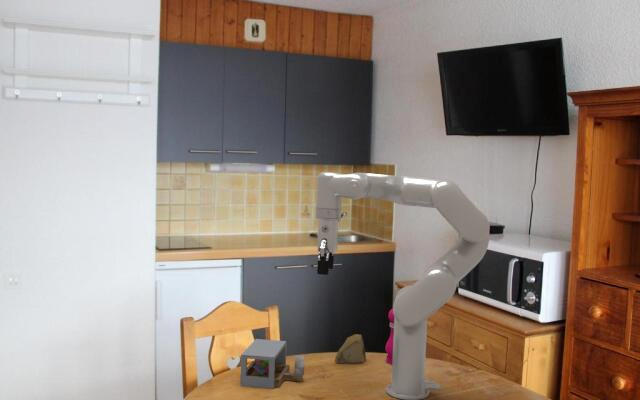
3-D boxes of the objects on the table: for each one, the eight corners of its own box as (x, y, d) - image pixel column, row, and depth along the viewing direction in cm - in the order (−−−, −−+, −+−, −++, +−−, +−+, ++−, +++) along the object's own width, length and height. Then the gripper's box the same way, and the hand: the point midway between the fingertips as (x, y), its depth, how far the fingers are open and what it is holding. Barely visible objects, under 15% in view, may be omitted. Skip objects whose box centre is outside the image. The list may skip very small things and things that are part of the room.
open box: (285, 370, 216) (286, 341, 215) (273, 388, 199) (274, 357, 199) (255, 367, 218) (255, 338, 217) (240, 385, 201) (241, 354, 200)
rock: (331, 359, 222) (361, 357, 219) (332, 334, 226) (361, 333, 224) (338, 370, 230) (367, 369, 228) (339, 346, 235) (367, 345, 233)
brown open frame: (308, 372, 213) (308, 350, 213) (299, 388, 200) (300, 364, 199) (252, 368, 216) (253, 346, 216) (240, 383, 202) (240, 359, 202)
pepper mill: (405, 366, 224) (408, 306, 222) (383, 364, 225) (386, 305, 223) (407, 359, 231) (409, 302, 229) (386, 357, 232) (388, 300, 230)
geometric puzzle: (284, 372, 207) (273, 348, 210) (267, 377, 202) (257, 353, 205) (270, 381, 211) (260, 358, 214) (254, 387, 206) (244, 363, 209)
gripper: (337, 217, 191) (333, 277, 192) (344, 212, 208) (341, 267, 209) (310, 216, 192) (307, 275, 193) (320, 210, 209) (317, 265, 210)
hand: (325, 271), depth 201 cm, fingers open, 9 cm apart
